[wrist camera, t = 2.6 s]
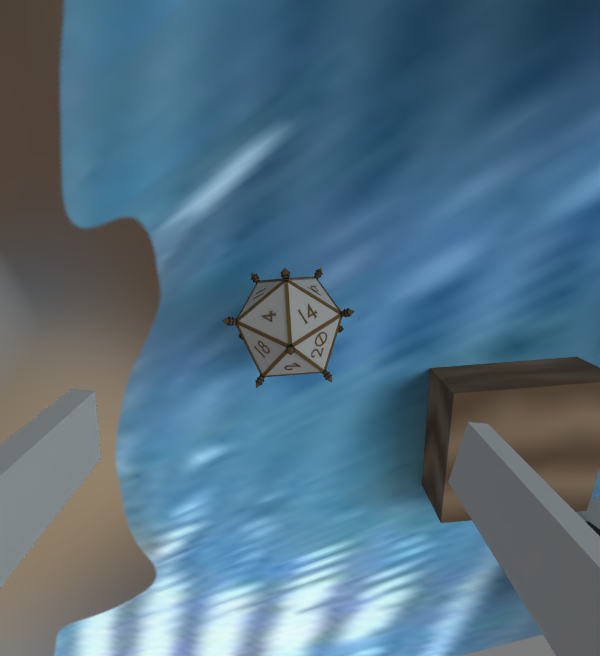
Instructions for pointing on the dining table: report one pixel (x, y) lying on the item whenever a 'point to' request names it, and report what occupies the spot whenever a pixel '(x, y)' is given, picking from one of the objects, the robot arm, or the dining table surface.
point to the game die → (289, 326)
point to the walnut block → (516, 424)
